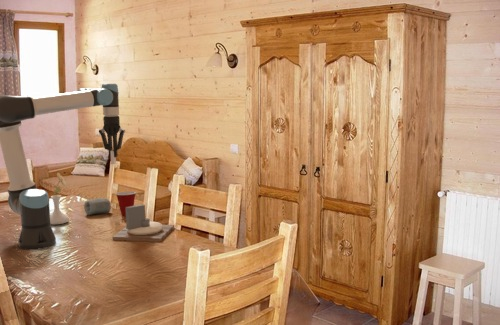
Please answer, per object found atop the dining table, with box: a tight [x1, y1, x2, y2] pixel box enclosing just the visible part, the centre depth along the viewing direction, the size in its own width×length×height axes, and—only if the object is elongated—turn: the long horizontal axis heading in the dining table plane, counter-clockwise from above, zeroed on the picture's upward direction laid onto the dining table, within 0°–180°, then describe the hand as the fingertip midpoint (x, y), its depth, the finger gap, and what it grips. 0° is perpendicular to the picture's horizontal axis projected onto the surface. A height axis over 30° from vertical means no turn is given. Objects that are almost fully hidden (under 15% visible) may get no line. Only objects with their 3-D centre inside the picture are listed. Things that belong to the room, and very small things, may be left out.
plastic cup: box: [115, 191, 137, 217], centre depth 287 cm, size 11×11×12 cm
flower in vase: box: [50, 172, 70, 225], centre depth 270 cm, size 13×11×25 cm
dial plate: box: [112, 224, 175, 243], centre depth 251 cm, size 22×22×2 cm
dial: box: [125, 203, 163, 235], centre depth 250 cm, size 16×16×12 cm
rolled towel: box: [83, 197, 112, 216], centre depth 289 cm, size 14×10×10 cm
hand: (113, 163), depth 268 cm, fingers closed
